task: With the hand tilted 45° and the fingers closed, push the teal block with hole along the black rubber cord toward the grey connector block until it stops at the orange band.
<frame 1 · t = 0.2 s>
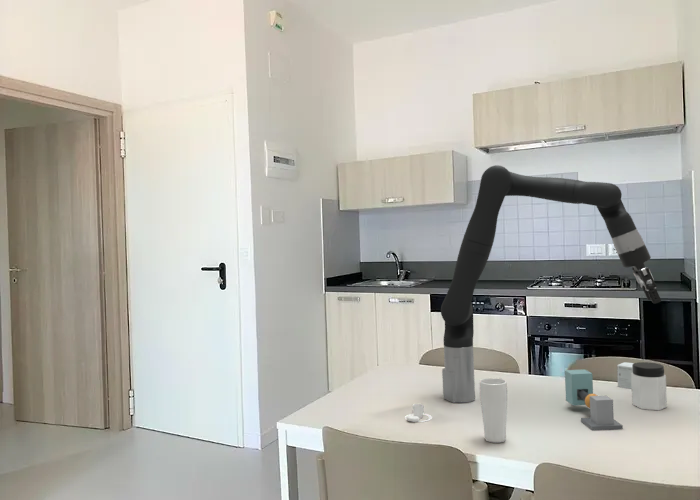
hand: (654, 300, 158), 31 cm above the table, tool tilted 20°, fingers open, 8 cm apart
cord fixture: (600, 424, 148), on the table
skincare box: (630, 387, 183), on the table
teacup and saucer: (407, 420, 161), on the table
teal block with hole: (578, 387, 161), point 7 cm above the table, slide at 0.0 cm
jar: (649, 406, 162), on the table
drinking glass: (495, 440, 140), on the table
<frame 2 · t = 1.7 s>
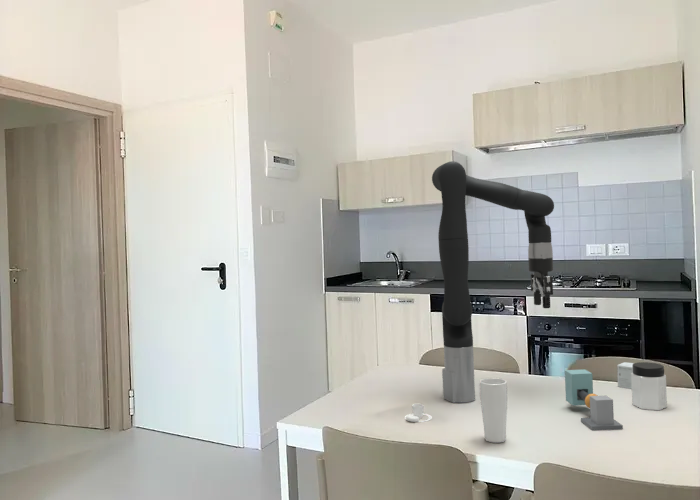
hand: (542, 306, 180), 28 cm above the table, tool pointing down, fingers open, 8 cm apart
nothing on the table moved.
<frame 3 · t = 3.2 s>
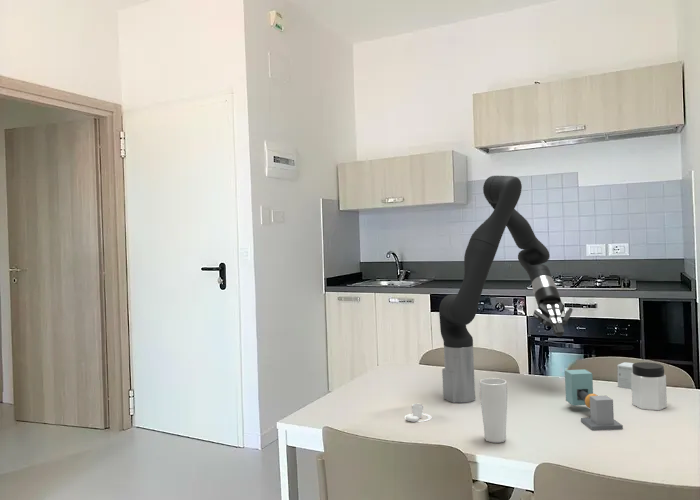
hand: (560, 335, 174), 19 cm above the table, tool tilted 45°, fingers closed
nothing on the table moved.
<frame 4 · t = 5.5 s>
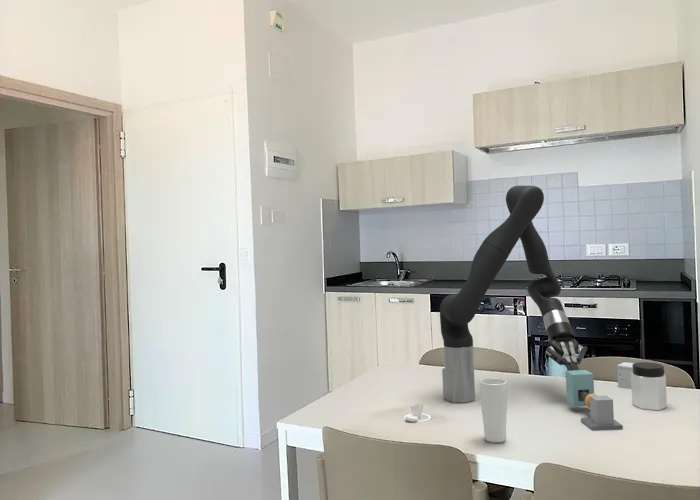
hand: (575, 375, 164), 9 cm above the table, tool tilted 45°, fingers closed
teal block with hole: (579, 387, 161), point 7 cm above the table, slide at 0.7 cm, touching gripper
everything else where it was.
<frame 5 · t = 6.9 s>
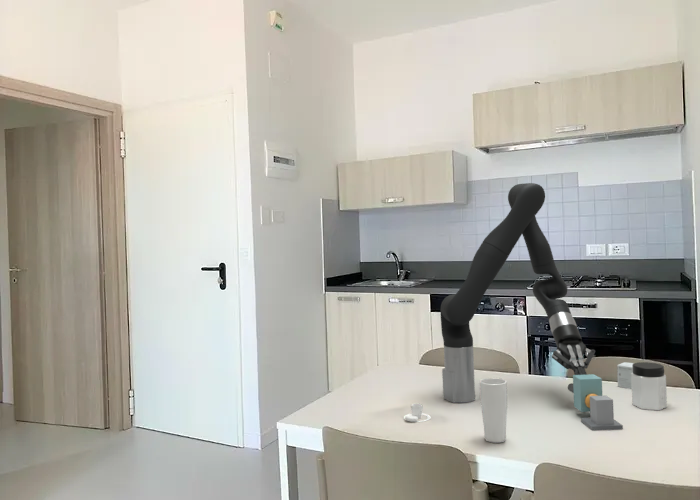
hand: (582, 380, 158), 9 cm above the table, tool tilted 45°, fingers closed
teal block with hole: (587, 392, 155), point 7 cm above the table, slide at 6.0 cm, touching gripper
everything else where it was.
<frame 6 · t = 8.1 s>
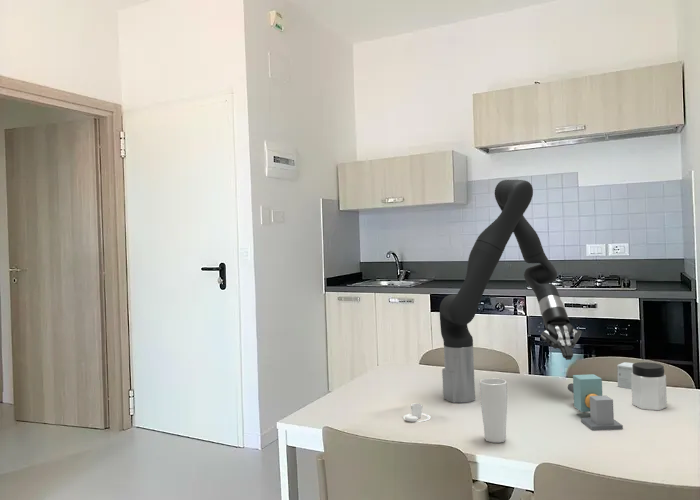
hand: (569, 358, 167), 14 cm above the table, tool tilted 45°, fingers closed
teal block with hole: (587, 392, 155), point 7 cm above the table, slide at 6.0 cm
everything else where it was.
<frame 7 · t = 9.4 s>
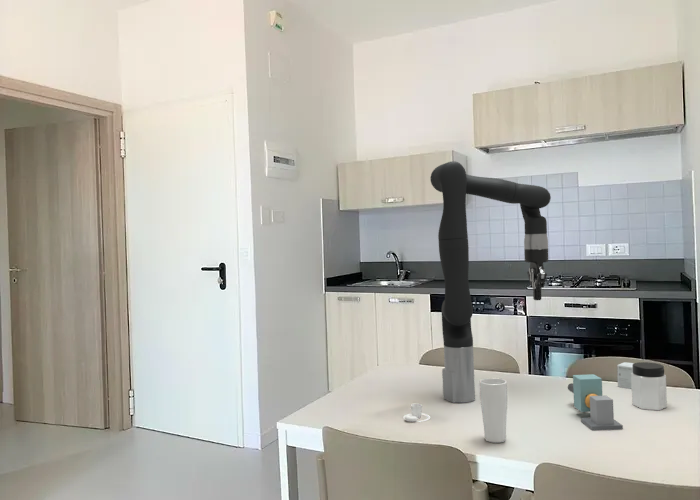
hand: (537, 299, 184), 30 cm above the table, tool pointing down, fingers closed
nothing on the table moved.
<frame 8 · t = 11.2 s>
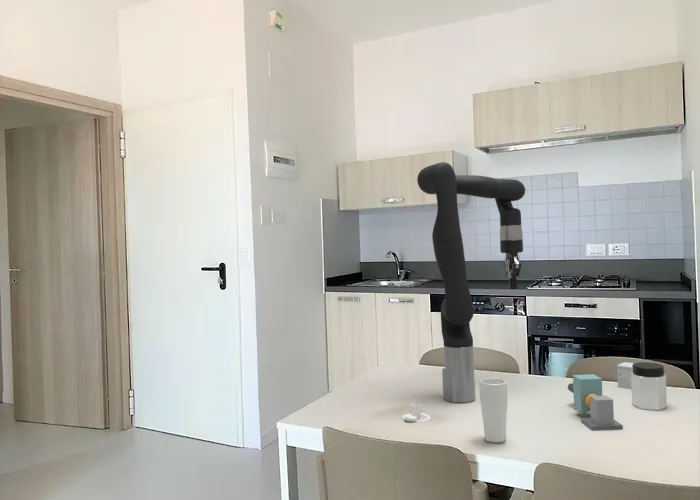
hand: (513, 289, 191), 33 cm above the table, tool pointing down, fingers closed
nothing on the table moved.
at the end: teal block with hole slide at 6.0 cm; the gripper is holding nothing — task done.
